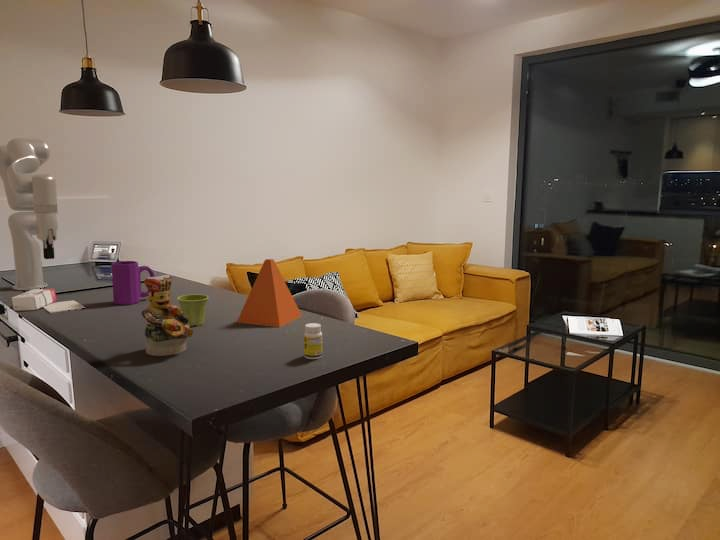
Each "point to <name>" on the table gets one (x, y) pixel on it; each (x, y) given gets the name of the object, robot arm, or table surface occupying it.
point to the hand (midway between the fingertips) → (49, 258)
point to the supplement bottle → (313, 341)
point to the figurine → (164, 320)
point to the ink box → (33, 299)
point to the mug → (128, 282)
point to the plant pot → (193, 308)
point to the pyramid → (269, 299)
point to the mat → (62, 306)
